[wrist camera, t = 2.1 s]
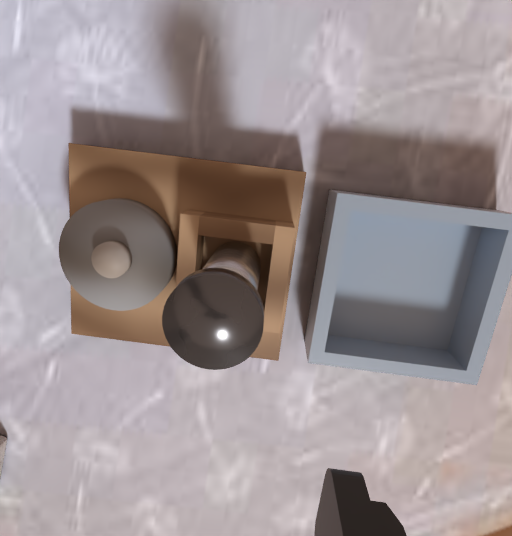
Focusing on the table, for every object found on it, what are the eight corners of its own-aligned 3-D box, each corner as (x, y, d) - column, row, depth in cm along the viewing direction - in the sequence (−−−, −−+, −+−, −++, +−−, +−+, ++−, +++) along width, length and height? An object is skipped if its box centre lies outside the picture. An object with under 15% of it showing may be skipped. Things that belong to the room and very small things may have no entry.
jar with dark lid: (206, 230, 26) (164, 268, 16) (271, 238, 26) (269, 282, 16) (201, 292, 27) (159, 362, 17) (263, 300, 27) (257, 375, 17)
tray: (329, 189, 27) (337, 192, 23) (496, 210, 27) (529, 216, 23) (304, 340, 30) (308, 362, 27) (453, 359, 30) (476, 385, 26)
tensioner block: (83, 144, 27) (45, 140, 22) (304, 171, 27) (309, 172, 22) (84, 322, 31) (52, 349, 26) (278, 348, 30) (278, 379, 26)
